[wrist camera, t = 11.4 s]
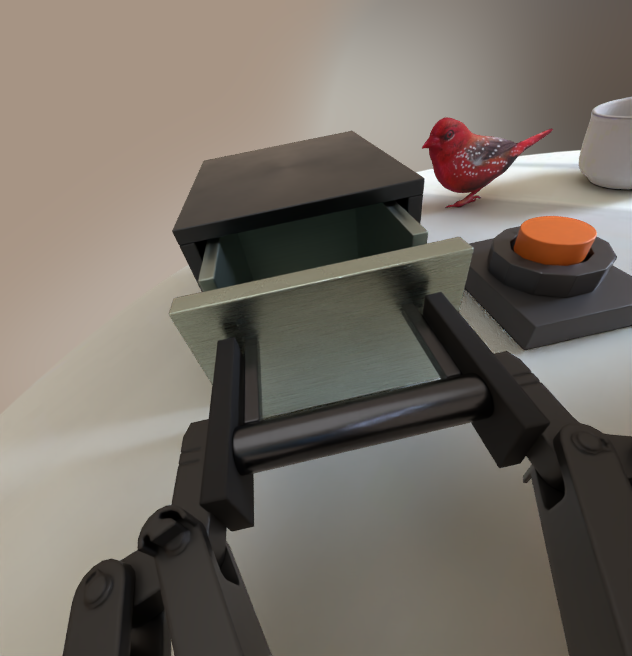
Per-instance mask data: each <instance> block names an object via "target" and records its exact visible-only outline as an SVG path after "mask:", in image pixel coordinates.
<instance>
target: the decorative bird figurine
mask: <svg viewBox="0 0 632 656" xmlns="http://www.w3.org/2000/svg"><path fill="white" fill-rule="evenodd" d="M552 130H553V129H549V130H547V131H544V132H542V133H540V134H537V135H535V136H533V137H530V138H528V139H526V140H524V141H521V142H519V143H514V142H512V141H509V140H506V139H503V138H498V137H492V136H491V137H490V136H480V135H476V134H473V133H471V132H470V131H469V130H468V128H467V127H466V126H465V125H464V124H463V123H462V122H460V121H458V120H455V119H452V118H443V119H441V120H439V121H438V122H437V123H436V124H435V126H434V127H433V129H432V131H431V133H430V137H429V139H428V140H427V141H426V142H425V144H424V145H423V147H422V148H429V155H430V158H431V160H432V164H433V168H434V173H435V176H436V178H437V179H438V181H439V182H440V183H441V184H442V186H444V187H445V188H446V189H448V190H451V191H453V192H457V193H469V192H471V193H470V194H469V195H468V196H466V197H465V198H464V199H463V200H461V201H457V202H456V203H455V204H453V205H448V206H447V207H461V206H463V205H465V204H467V203H470V202H474V201H475V200H476V198H479V199H480V198H481V197H480V196H474V195H475V194H476V193H477V192H479V191H480V190H481V189H482V188H483V187H485V186H486V185H488V184H489V183H490V182H491V181H493V180H494V179H495V178H497V177H498V176H500V175H501V174H503V173H504V172H505V171H506V170H507V169H508V168H509V167H510V165H511V164H512V163H513V162H514V161H515V159H516V158H517V157H518V156H519V155H520V154H521V153H522V152H523V151H524V150H526V149H527V148H529V147H530V146H531V145H533V144H535V143H536V142H538V141H539V140H540V139H542V138H544V137H545V136H546V135H548V134H549V133H550V132H551V131H552ZM473 199H474V200H473ZM447 207H445V208H447Z"/></svg>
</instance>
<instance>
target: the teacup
mask: <svg viewBox="0 0 632 656" xmlns="http://www.w3.org/2000/svg"><path fill="white" fill-rule="evenodd" d="M579 168H580V170H581V172H582V173H583V174H584V175H585V176H587V177H588V179H589V181H590V182H592V183H593V184H595V185H598V186H601V187H606V188H614V189H632V97H628V98H623V99H621V100H615V101H611V102H608V103H604V104H602V105H599V106H597V107H595V108H594V109H593V110H592V113H591V120H590V123H589V126H588V129H587V132H586V135H585V138H584V142H583V145H582V148H581V152H580V157H579Z"/></svg>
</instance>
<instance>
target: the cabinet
mask: <svg viewBox="0 0 632 656" xmlns="http://www.w3.org/2000/svg"><path fill="white" fill-rule="evenodd" d="M423 190H424V178H423V177H422V176H420V175H419V174H417V173H416V172H414V171H412V170H411V169H409V168H408V167H406V166H405V165H403V164H402V163H400V162H399V161H397V160H396V159H394V158H393V157H391V156H390V155H388V154H387V153H385V152H384V151H382V150H381V149H379V148H378V147H376V146H374V145H373V144H371V143H370V142H368V141H367V140H365V139H364V138H362V137H361V136H359V135H358V134H356V133H355V132H353V131H349V132H344V133H339V134H334V135H329V136H324V137H319V138H314V139H309V140H304V141H300V142H294V143H289V144H284V145H279V146H274V147H270V148H265V149H260V150H255V151H250V152H245V153H240V154H235V155H230V156H225V157H221V158H215V159H210V160H206V161H204V162H203V164H202V166H201V168H200V170H199V173H198V175H197V177H196V179H195V182H194V184H193V186H192V188H191V190H190V192H189V195H188V197H187V199H186V201H185V204H184V206H183V208H182V210H181V213H180V215H179V217H178V220H177V222H176V224H175V226H174V228H173V230H172V232H173V234H174V236H175V238H176V240H177V242H178V244H179V245H180V248H181V250H182V252H183V254H184V256H185V258H186V260H187V262H188V264H189V267H190V269H191V271H192V273H193V275H194V277H195V279H196V281H197V283H198V285H199V287H200V289H201V286H200V284H199V282H198V279H199V275H200V271H201V266H202V262H203V257H204V253H205V249H206V244H207V240H208V239H212V238H217V237H222V236H226V235H231V234H236V233H241V232H245V231H250V230H255V229H260V228H264V227H269V226H274V225H279V224H283V223H288V222H293V221H298V220H302V219H307V218H312V217H317V216H321V215H326V214H331V213H336V212H340V211H345V210H350V209H355V208H359V207H364V206H369V205H374V204H378V203H383V202H388V201H393V200H395V201H396V202H397V203H398V204H399V205H400V206H401V207H402V208H403V209H404V210H405V211H407V212H408V213H409V214H410V215H411V216H412V217H413V218H414V219H415V220H416V221H417V222H418V223H419V224H420V221H421V210H422V200H423V195H422V194H423ZM201 291H202V289H201ZM202 292H203V291H202Z"/></svg>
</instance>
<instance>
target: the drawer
mask: <svg viewBox="0 0 632 656" xmlns="http://www.w3.org/2000/svg"><path fill="white" fill-rule="evenodd" d="M427 238H428V231H427V230H426V229H425V228H424V227H422V226H421V225H420V224H419V223H418V222H417V221H416V220H415V219H414V218H413V217H412V216H411V215H410V214H409V213H408V212H407V211H405V210H404V209H403V208H402V207H401V206H400V205H399V204H398V203H397V202H396V201H395V200H393V201H388V202H383V203H378V204H374V205H369V206H364V207H359V208H355V209H350V210H345V211H340V212H336V213H331V214H326V215H321V216H317V217H312V218H307V219H302V220H298V221H293V222H288V223H283V224H279V225H274V226H269V227H264V228H260V229H255V230H250V231H245V232H241V233H236V234H231V235H226V236H222V237H217V238H212V239H208V240H207V244H206V249H205V253H204V257H203V262H202V266H201V271H200V275H199V279H198V282H199V284H200V286H201V289H202V291H203V292H201V293H196V294H191V295H187V296H182V297H177V298H174V299H173V302H172V305H171V309H170V312H169V316H170V318H171V319H172V321H173V322H174V324H175V326H176V327H177V329H178V330H179V332H180V334H181V335H182V337H183V338H184V340H185V342H186V343H187V345H188V346H189V348H190V350H191V351H192V353H193V354H194V356H195V358H196V359H197V361H198V363H199V364H200V366H201V367H202V369H203V371H204V372H205V374H206V375H207V377H208V379H209V380H210V382H211V383H212V385H213V377H214V368H215V359H216V350H217V342H218V341H219V340H223V339H228V338H232V337H235V339H236V341H237V343H238V345H239V347H240V350H241V352H242V354H243V356H244V414H243V423H244V425H240V426H237V427H235V429H234V431H233V436H232V451H233V458H234V462H235V466H236V468H237V471H238V473H239V474H240V475H241V476H245V475H250V474H254V473H258V472H262V471H267V470H271V469H275V468H279V467H284V466H288V465H292V464H296V463H301V462H305V461H309V460H313V459H318V458H322V457H326V456H330V455H335V454H339V453H343V452H347V451H352V450H356V449H360V448H364V447H369V446H373V445H377V444H381V443H386V442H390V441H394V440H398V439H403V438H407V437H411V436H415V435H420V434H424V433H428V432H432V431H437V430H441V429H445V428H449V427H454V426H458V425H462V424H466V423H471V422H475V421H479V420H483V419H488V418H490V417H491V416H492V414H493V411H494V404H493V399H492V395H491V393H490V390H489V388H488V386H487V385H486V383H485V382H484V380H483V379H482V378H481V377H480V376H479V375H477V374H476V373H466V374H462V372H461V370H460V369H459V368H458V366H457V365H456V363H455V362H454V360H453V359H452V357H451V356H450V355H449V353H448V352H447V350H446V349H445V347H444V346H443V344H442V343H441V342H440V340H439V339H438V337H437V336H436V334H435V333H434V331H433V330H432V328H431V327H430V326H429V324H428V323H427V321H426V320H425V318H424V317H423V307H424V299H425V295H429V294H433V293H438V292H442V293H443V294H444V295H445V297H446V298H447V299H448V300H449V301H450V303H451V304H452V305H453V306H454V307H455V309H456V310H457V311H458V312H459V309H460V305H461V301H462V297H463V292H464V288H465V284H466V280H467V275H468V271H469V267H470V263H471V258H472V254H473V250H474V249H473V247H472V246H471V245H469V244H468V243H467V242H466V241H465V240H463V239H462V238H461V237H456V238H451V239H446V240H442V241H437V242H432V243H428V244H427ZM437 378H441V379H440V380H436V381H432V382H427V383H423V384H419V385H414V386H410V387H405V388H401V389H397V390H392V391H388V392H384V393H379V394H375V395H371V396H366V397H362V398H358V399H353V400H349V401H345V402H340V403H336V404H332V405H327V406H323V407H319V408H314V409H310V410H305V411H301V412H297V413H292V414H288V415H284V416H279V417H275V418H271V419H266V420H263V418H267V417H272V416H276V415H280V414H285V413H289V412H293V411H298V410H302V409H306V408H311V407H315V406H319V405H324V404H328V403H332V402H337V401H341V400H345V399H350V398H354V397H359V396H363V395H367V394H372V393H376V392H380V391H385V390H389V389H393V388H398V387H402V386H406V385H411V384H415V383H419V382H424V381H428V380H433V379H437Z"/></svg>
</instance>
